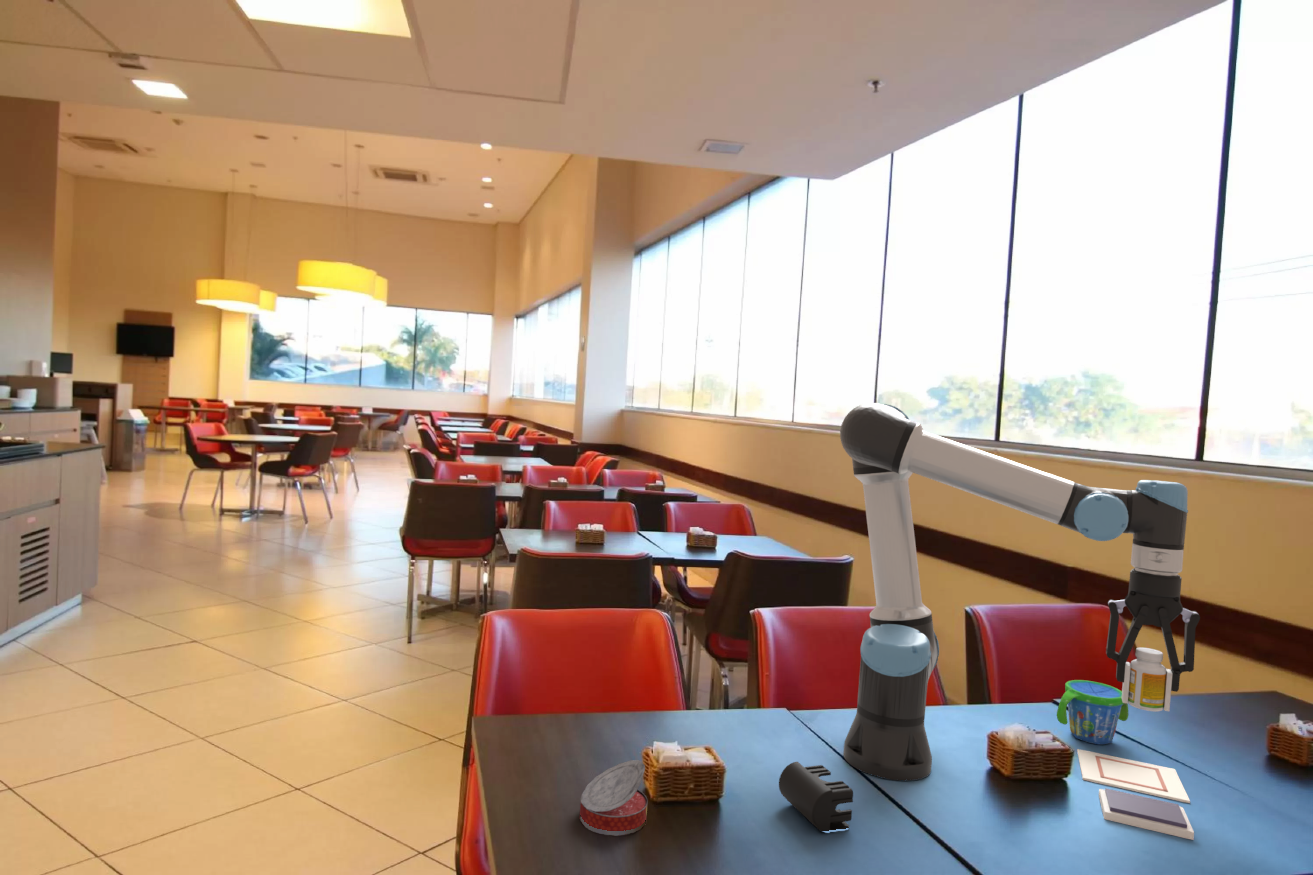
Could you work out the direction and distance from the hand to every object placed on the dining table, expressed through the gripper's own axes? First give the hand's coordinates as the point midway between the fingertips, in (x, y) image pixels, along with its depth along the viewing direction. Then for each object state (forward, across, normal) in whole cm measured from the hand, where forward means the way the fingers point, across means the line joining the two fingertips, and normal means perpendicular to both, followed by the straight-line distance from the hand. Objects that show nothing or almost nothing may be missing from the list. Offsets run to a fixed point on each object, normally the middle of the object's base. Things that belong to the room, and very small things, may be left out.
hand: (1144, 704), depth 138 cm
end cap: (+15, -46, -42) cm, 64 cm away
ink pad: (+15, 0, -11) cm, 19 cm away
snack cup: (+15, -7, +22) cm, 28 cm away
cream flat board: (+15, -1, +6) cm, 16 cm away
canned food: (+15, -71, -59) cm, 93 cm away
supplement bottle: (+1, 0, 0) cm, 1 cm away
